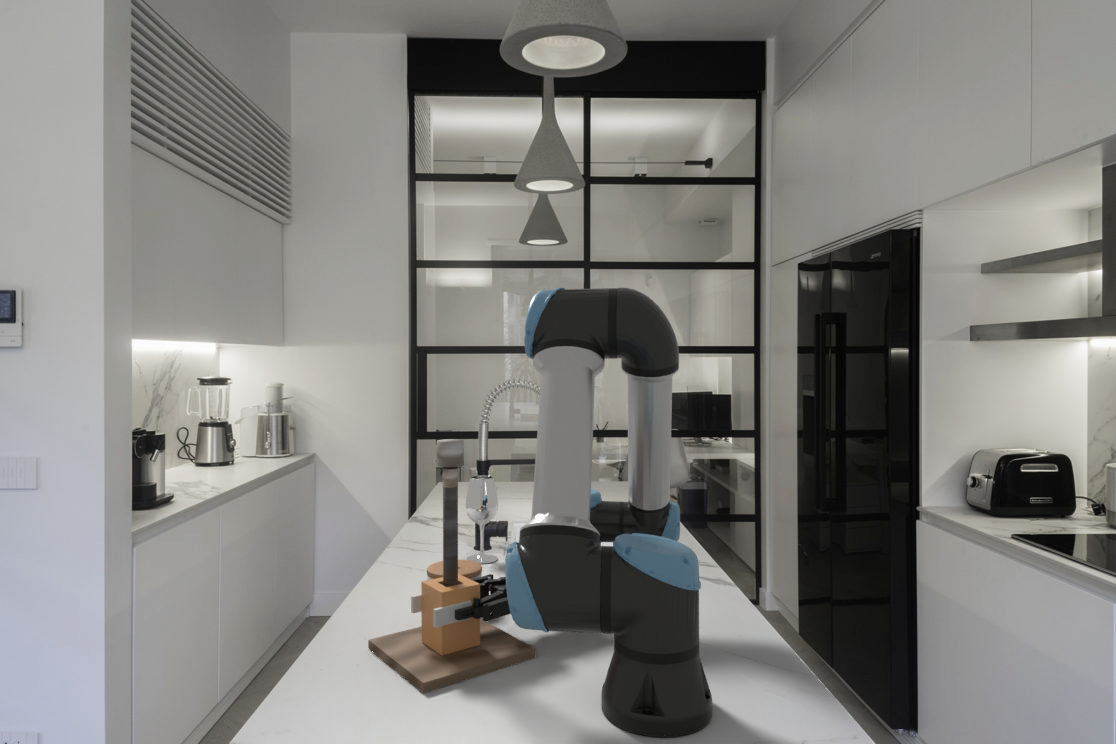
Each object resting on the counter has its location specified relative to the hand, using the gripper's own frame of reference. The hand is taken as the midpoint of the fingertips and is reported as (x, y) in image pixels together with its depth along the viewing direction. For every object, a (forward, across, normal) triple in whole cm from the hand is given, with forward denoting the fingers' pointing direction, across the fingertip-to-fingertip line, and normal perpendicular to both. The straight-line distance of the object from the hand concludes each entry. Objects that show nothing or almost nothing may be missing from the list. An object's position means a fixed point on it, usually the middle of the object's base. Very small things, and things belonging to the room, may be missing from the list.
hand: (423, 611), depth 113 cm
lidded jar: (-16, +19, -8) cm, 27 cm away
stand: (-5, 0, -8) cm, 9 cm away
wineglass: (-38, +44, -8) cm, 58 cm away
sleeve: (-5, 0, -6) cm, 8 cm away
